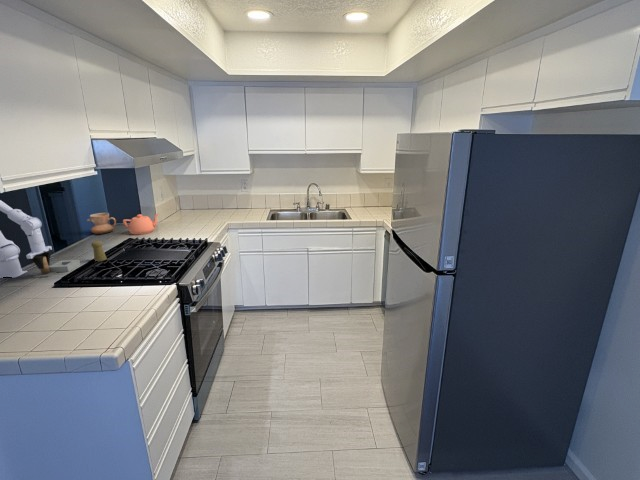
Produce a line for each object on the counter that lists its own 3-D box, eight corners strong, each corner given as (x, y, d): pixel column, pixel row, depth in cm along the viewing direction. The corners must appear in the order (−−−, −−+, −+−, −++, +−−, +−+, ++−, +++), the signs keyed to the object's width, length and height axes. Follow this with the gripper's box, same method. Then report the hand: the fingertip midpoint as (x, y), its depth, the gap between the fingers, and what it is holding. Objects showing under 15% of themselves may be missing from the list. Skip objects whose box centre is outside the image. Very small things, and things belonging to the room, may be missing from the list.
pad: (32, 277, 169) (32, 276, 169) (44, 271, 177) (43, 270, 177) (48, 276, 170) (48, 276, 170) (59, 270, 177) (59, 270, 177)
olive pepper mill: (104, 257, 196) (100, 239, 193) (108, 259, 193) (104, 241, 189) (92, 260, 192) (88, 241, 189) (96, 262, 188) (92, 243, 185)
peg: (39, 273, 171) (35, 259, 169) (44, 270, 174) (39, 256, 172) (47, 273, 171) (42, 258, 169) (51, 270, 175) (47, 256, 172)
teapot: (163, 227, 260) (160, 210, 256) (161, 232, 244) (157, 215, 240) (127, 231, 252) (124, 214, 248) (122, 237, 237) (118, 218, 233)
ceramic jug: (87, 236, 241) (83, 217, 237) (93, 231, 254) (88, 213, 250) (115, 234, 247) (112, 215, 243) (119, 229, 260) (116, 211, 256)
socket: (49, 272, 175) (47, 267, 174) (62, 265, 185) (60, 260, 184) (68, 271, 176) (67, 266, 175) (80, 264, 185) (79, 259, 184)
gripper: (33, 246, 161) (41, 272, 165) (54, 237, 175) (61, 261, 179) (18, 246, 161) (27, 272, 165) (41, 238, 175) (48, 262, 179)
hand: (44, 267), depth 172 cm, fingers closed on peg, 3 cm apart
